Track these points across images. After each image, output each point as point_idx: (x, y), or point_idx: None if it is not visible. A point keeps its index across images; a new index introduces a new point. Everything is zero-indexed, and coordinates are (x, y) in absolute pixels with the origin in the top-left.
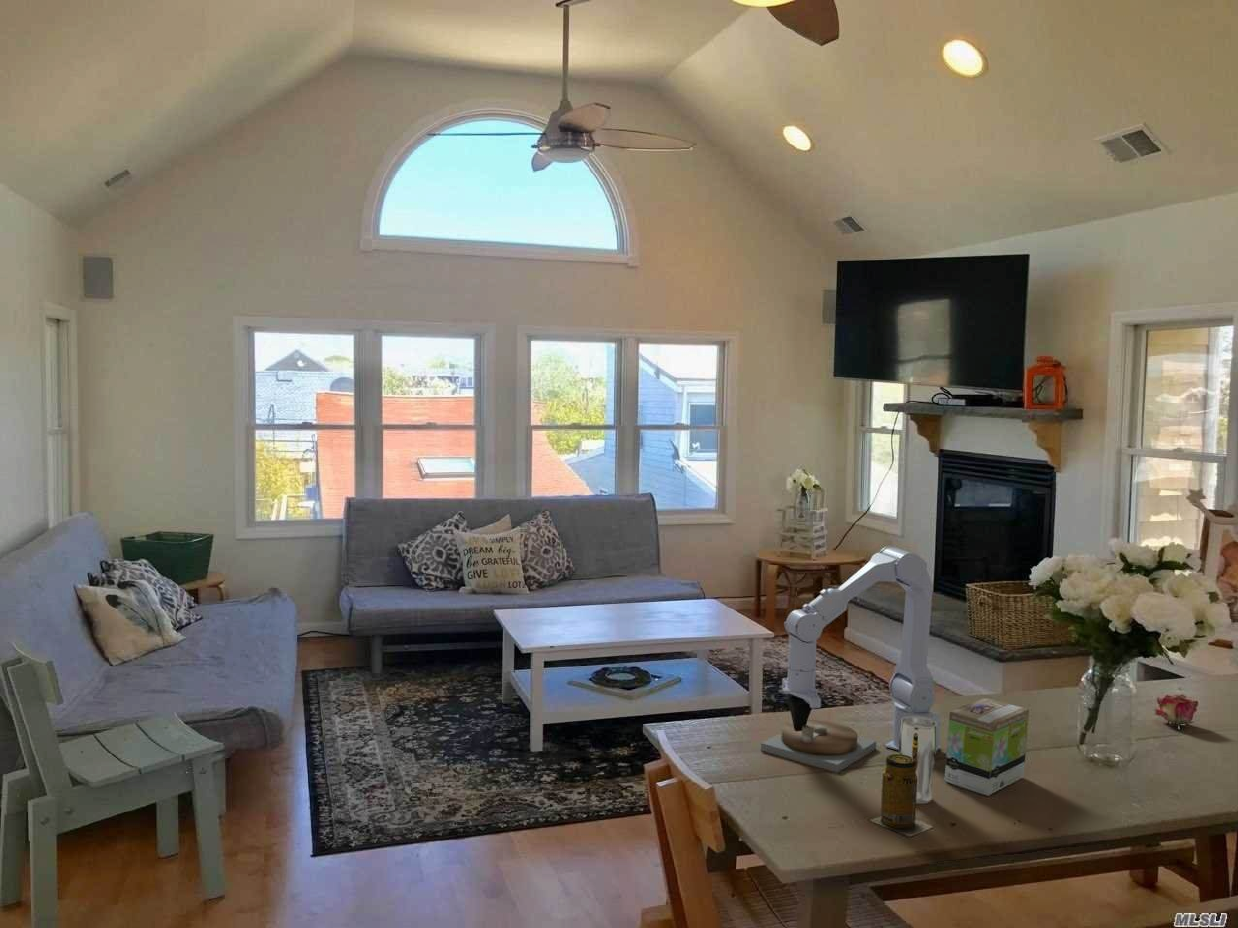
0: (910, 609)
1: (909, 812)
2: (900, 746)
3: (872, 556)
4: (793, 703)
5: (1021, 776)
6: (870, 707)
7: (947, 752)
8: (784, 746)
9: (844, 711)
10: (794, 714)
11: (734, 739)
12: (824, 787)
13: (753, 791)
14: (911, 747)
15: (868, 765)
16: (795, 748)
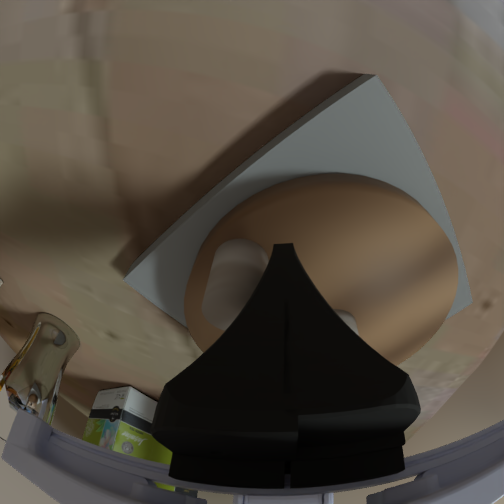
0: None
1: None
2: (2, 387)
3: None
4: (158, 406)
5: None
6: (452, 391)
7: (116, 426)
8: (313, 162)
9: (468, 366)
10: (244, 314)
11: (478, 47)
12: (39, 199)
13: (13, 12)
14: None
15: (191, 339)
16: (254, 195)
